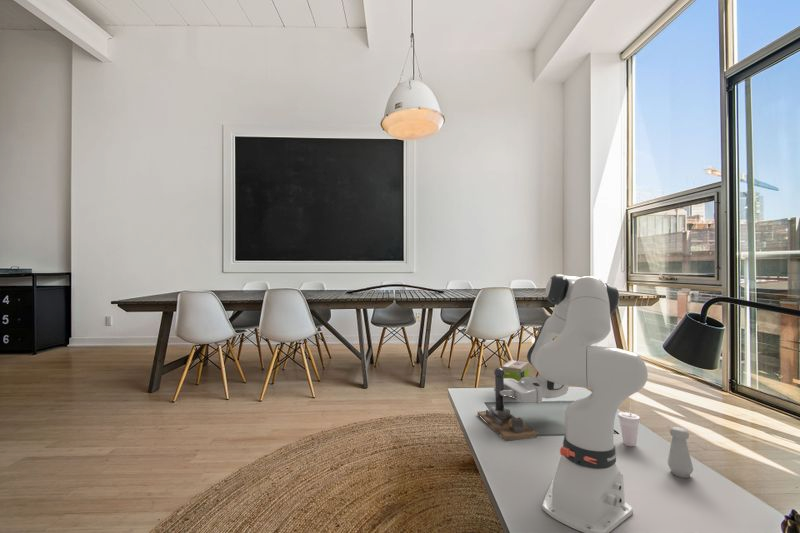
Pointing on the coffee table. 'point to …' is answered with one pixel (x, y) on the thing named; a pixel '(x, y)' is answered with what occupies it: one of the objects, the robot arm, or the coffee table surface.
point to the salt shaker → (679, 453)
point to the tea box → (516, 369)
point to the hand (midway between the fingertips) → (497, 390)
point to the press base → (508, 426)
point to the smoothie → (629, 427)
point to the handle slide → (500, 396)
